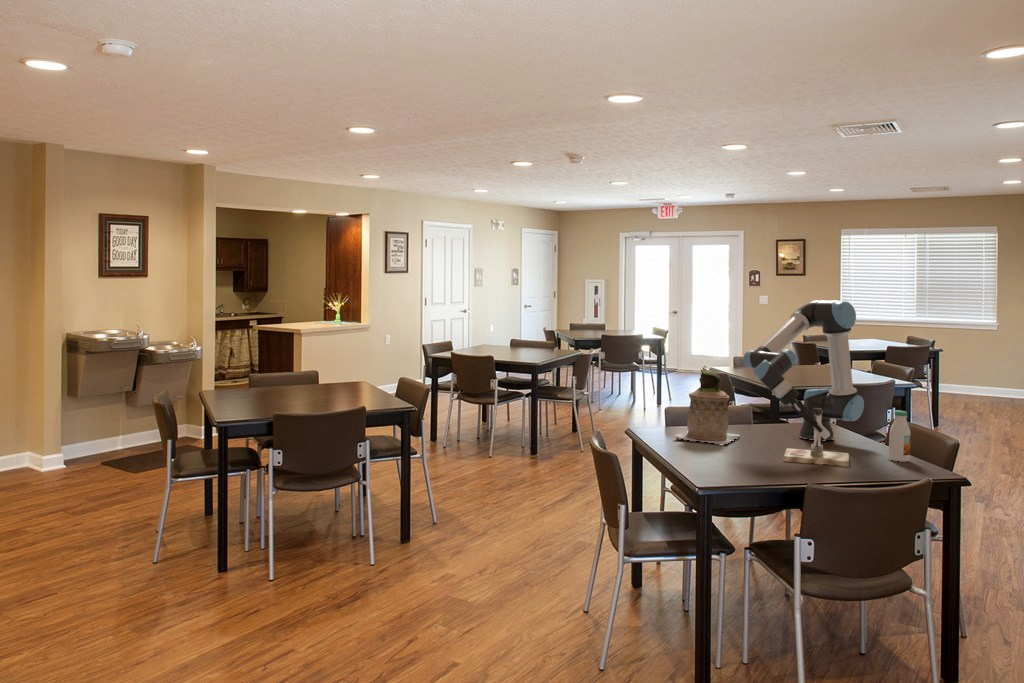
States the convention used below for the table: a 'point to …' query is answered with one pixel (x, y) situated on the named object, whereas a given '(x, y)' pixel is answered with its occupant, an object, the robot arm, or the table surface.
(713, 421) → the cookie jar
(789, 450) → the bench base
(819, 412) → the lever
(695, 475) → the table surface
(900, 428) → the milk bottle
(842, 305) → the robot arm
